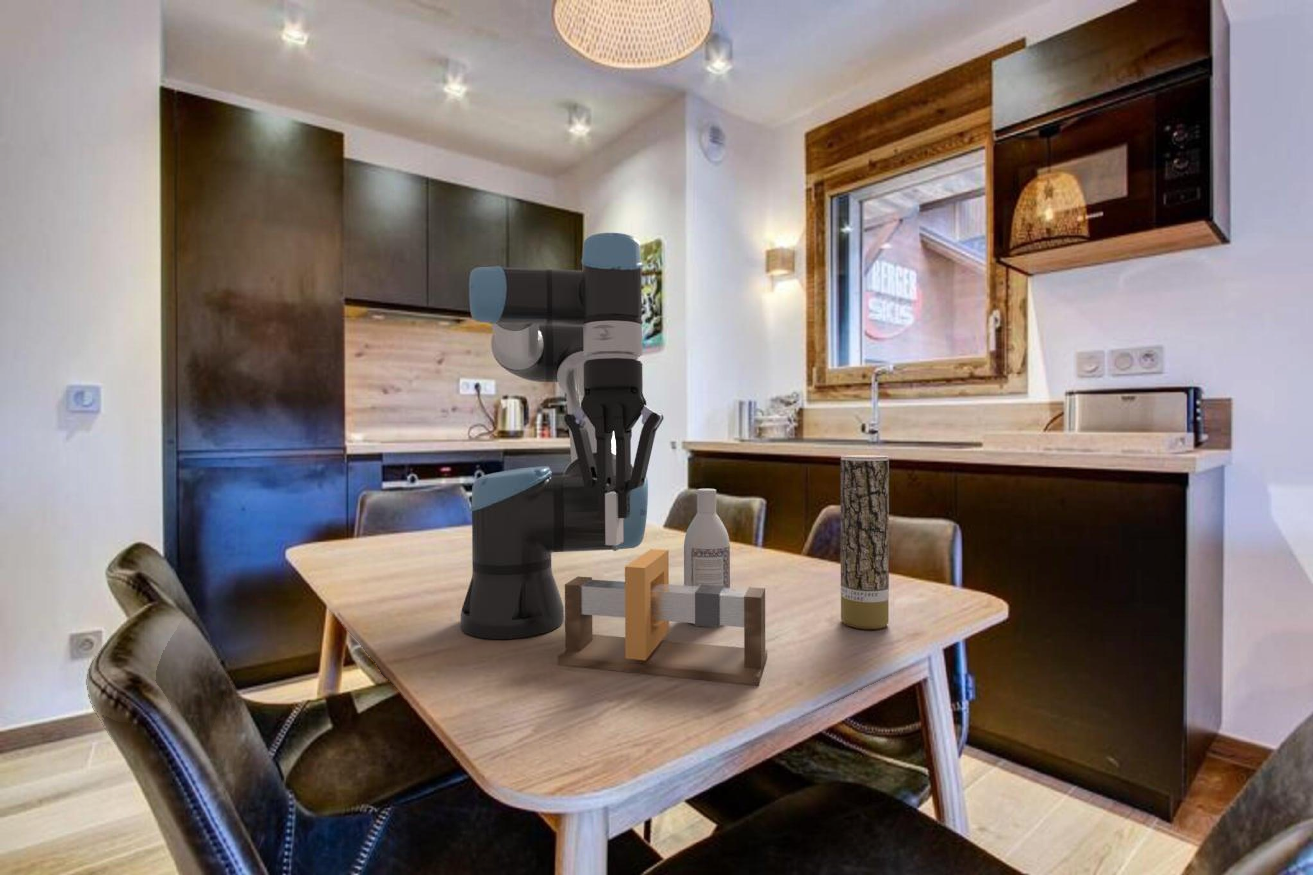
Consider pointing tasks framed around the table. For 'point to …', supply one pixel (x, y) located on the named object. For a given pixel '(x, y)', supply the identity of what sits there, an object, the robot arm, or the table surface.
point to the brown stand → (668, 646)
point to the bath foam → (706, 545)
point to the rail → (669, 603)
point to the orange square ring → (644, 603)
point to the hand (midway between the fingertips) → (614, 543)
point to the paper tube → (865, 541)
